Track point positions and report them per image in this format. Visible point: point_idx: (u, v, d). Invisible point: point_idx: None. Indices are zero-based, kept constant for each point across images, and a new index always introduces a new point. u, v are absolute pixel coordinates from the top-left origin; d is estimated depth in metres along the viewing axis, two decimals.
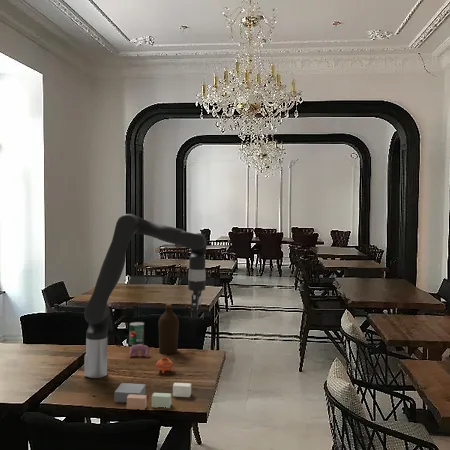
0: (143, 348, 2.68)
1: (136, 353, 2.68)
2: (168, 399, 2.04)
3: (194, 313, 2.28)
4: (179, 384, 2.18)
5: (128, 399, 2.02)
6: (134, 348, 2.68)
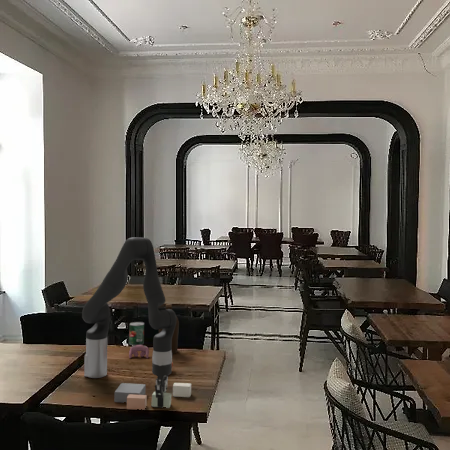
0: (143, 349, 2.67)
1: (136, 354, 2.67)
2: (168, 399, 2.04)
3: (159, 402, 2.03)
4: (179, 384, 2.18)
5: (128, 399, 2.02)
6: (134, 349, 2.66)
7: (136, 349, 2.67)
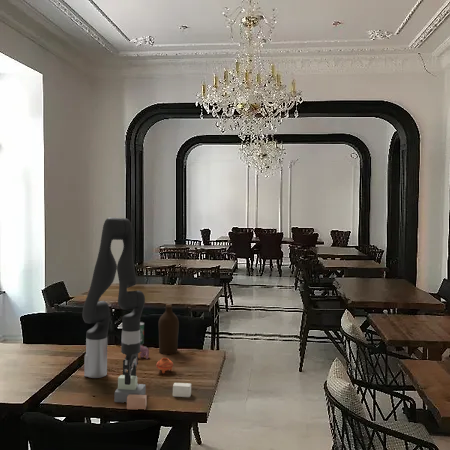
0: (143, 349, 2.65)
1: None
2: (134, 381, 2.11)
3: (126, 379, 2.08)
4: (179, 384, 2.18)
5: (128, 399, 2.02)
6: None
7: None
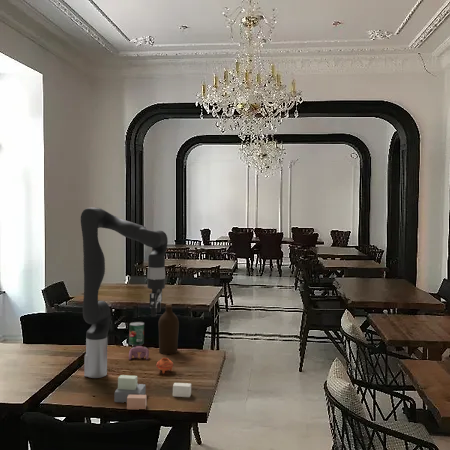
0: (143, 350, 2.64)
1: (136, 355, 2.65)
2: (134, 381, 2.11)
3: (153, 312, 2.24)
4: (179, 384, 2.18)
5: (128, 399, 2.02)
6: (134, 350, 2.64)
7: (136, 350, 2.64)
